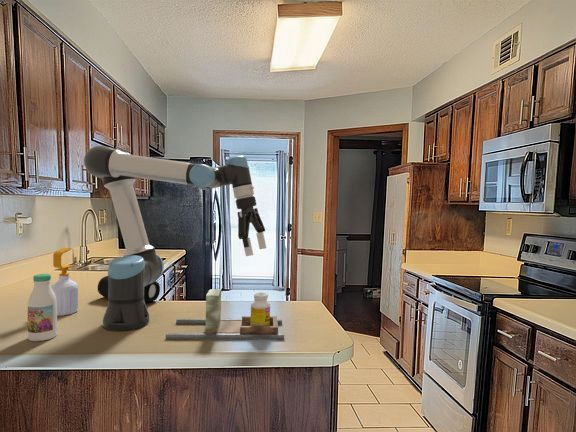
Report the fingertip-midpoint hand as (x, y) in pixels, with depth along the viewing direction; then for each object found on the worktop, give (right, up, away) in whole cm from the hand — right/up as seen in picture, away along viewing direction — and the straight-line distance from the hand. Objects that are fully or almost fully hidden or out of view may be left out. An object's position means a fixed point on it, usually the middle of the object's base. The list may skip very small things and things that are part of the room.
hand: (256, 252), depth 140 cm
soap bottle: (-74, -23, +1) cm, 77 cm away
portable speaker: (-57, -23, +19) cm, 65 cm away
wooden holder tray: (-4, -26, -13) cm, 29 cm away
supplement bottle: (+2, -26, -13) cm, 29 cm away
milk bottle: (-66, -25, -24) cm, 74 cm away
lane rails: (-9, -26, -14) cm, 30 cm away
